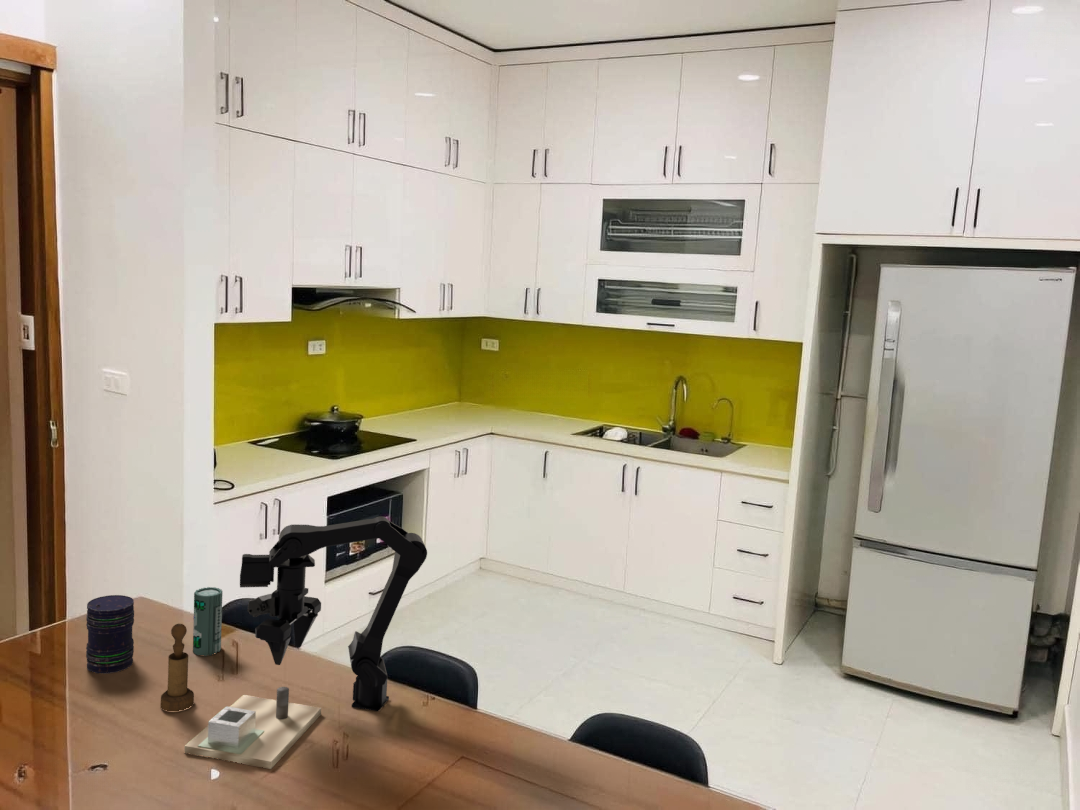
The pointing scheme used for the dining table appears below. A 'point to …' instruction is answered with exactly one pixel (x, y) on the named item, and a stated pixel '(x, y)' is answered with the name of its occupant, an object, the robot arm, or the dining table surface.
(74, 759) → the dining table surface
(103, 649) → the storage jar
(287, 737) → the board
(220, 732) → the collar
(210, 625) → the can
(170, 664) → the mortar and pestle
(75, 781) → the dining table surface
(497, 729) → the dining table surface
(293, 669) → the dining table surface
